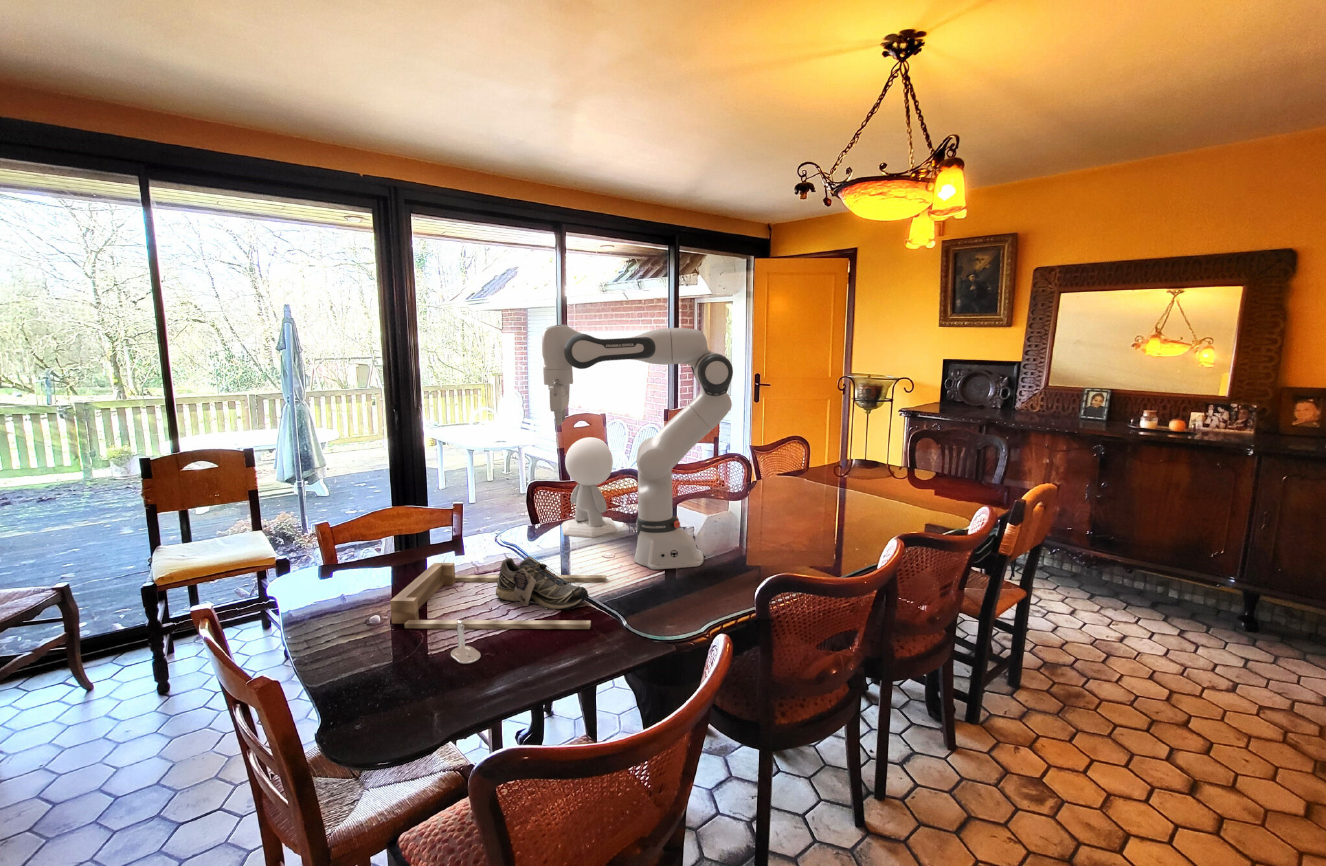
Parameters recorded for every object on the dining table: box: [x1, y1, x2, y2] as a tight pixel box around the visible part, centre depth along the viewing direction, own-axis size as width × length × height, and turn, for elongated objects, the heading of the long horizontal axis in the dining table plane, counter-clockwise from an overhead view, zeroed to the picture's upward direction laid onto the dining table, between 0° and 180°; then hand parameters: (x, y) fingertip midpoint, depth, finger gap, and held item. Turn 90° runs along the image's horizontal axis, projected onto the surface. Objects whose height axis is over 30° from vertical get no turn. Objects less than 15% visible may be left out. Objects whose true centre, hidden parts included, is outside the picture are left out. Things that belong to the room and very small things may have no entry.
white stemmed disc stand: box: [450, 621, 481, 665], centre depth 130 cm, size 8×5×8 cm
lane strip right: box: [455, 574, 607, 583], centre depth 172 cm, size 46×2×1 cm, turn 88°
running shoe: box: [495, 555, 589, 612], centre depth 157 cm, size 12×28×12 cm, turn 73°
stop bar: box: [389, 562, 456, 624], centre depth 158 cm, size 6×26×6 cm, turn 178°
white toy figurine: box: [561, 436, 618, 538], centre depth 219 cm, size 20×23×35 cm
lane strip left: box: [403, 619, 592, 630], centre depth 143 cm, size 46×2×1 cm, turn 88°
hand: (560, 423), depth 180 cm, fingers open, 8 cm apart
